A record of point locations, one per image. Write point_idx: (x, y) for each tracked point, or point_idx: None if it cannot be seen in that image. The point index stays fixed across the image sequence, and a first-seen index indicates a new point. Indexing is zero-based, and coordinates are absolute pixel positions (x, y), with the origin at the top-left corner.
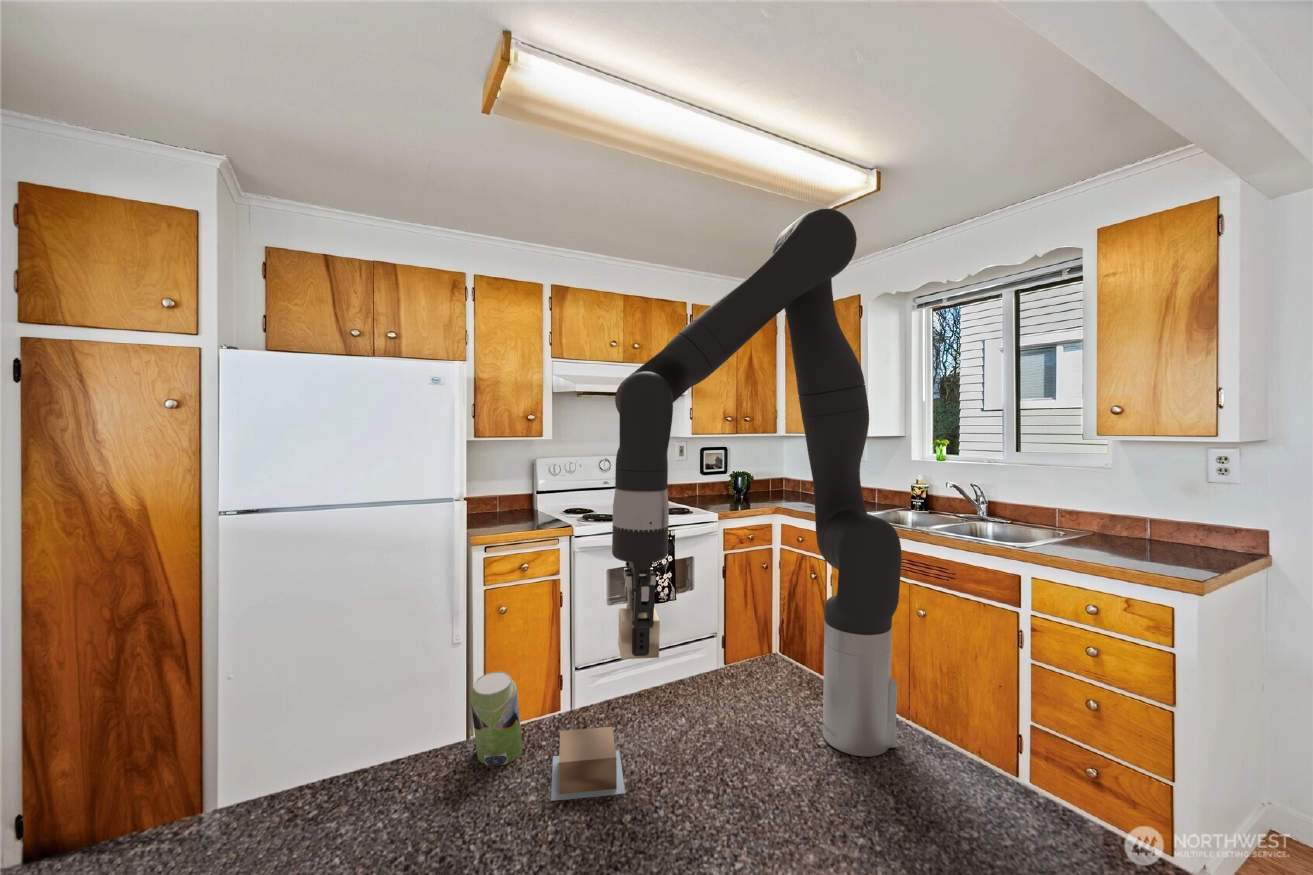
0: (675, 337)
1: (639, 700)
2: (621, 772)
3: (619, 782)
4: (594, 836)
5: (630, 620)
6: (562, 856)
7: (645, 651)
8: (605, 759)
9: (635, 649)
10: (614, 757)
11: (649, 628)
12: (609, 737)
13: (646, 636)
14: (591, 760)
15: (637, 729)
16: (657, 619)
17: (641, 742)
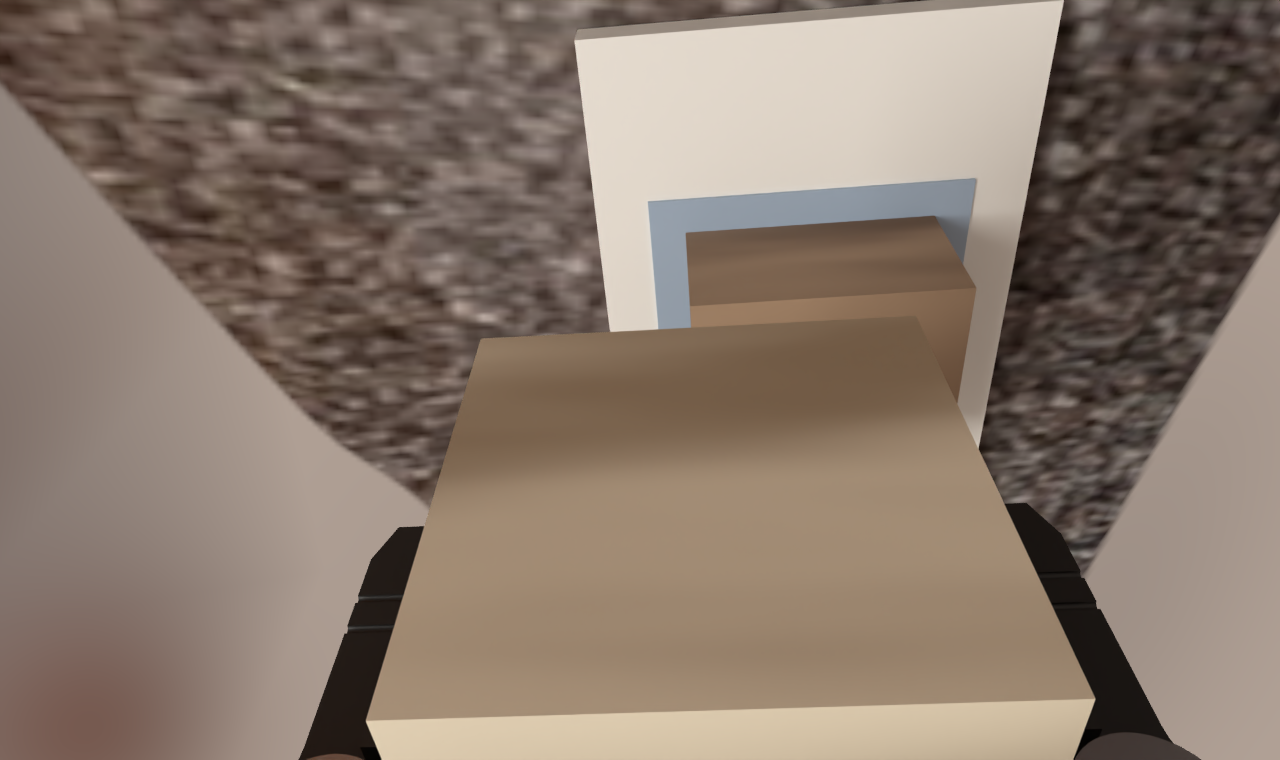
0: None
1: (64, 65)
2: (824, 194)
3: (894, 203)
4: (1117, 273)
5: None
6: (1167, 363)
7: (1034, 523)
8: (967, 331)
9: None
10: (973, 296)
11: (1094, 717)
12: (793, 319)
13: (1124, 671)
14: (957, 385)
15: (388, 89)
16: (1033, 723)
17: (513, 73)
